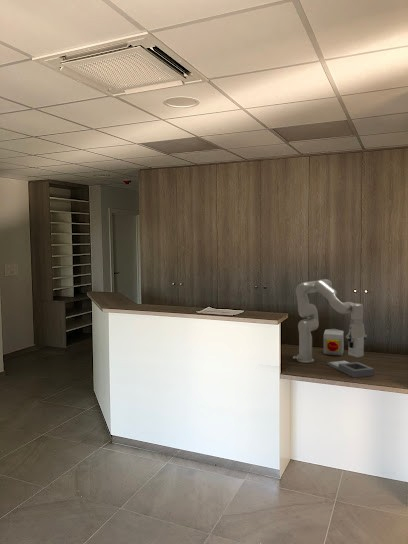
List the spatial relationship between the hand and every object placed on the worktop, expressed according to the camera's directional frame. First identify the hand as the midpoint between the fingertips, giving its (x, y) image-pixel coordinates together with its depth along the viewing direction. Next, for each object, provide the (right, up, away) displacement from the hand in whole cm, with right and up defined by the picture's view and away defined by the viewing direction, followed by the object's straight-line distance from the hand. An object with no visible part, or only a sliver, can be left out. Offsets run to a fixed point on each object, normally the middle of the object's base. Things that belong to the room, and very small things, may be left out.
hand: (356, 347), depth 311 cm
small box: (0, -6, +1) cm, 6 cm away
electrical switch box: (-1, -14, +50) cm, 52 cm away
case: (-2, -17, +9) cm, 19 cm away
